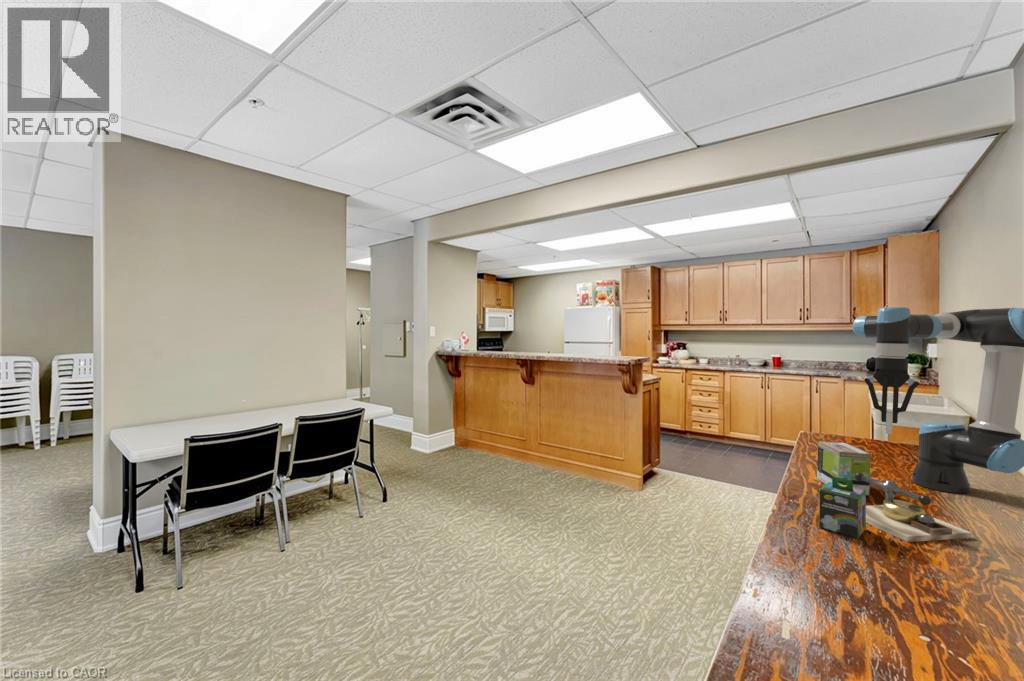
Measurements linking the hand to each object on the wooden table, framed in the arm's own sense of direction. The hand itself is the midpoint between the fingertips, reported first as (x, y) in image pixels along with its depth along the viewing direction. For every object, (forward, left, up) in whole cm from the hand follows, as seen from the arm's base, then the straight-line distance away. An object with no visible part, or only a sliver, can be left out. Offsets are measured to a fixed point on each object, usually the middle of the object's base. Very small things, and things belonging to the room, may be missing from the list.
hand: (888, 432), depth 132 cm
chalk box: (+24, +8, -25) cm, 36 cm away
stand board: (+4, +8, -25) cm, 26 cm away
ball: (+3, +14, -23) cm, 27 cm away
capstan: (+3, +3, -23) cm, 23 cm away
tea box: (-5, -21, -25) cm, 33 cm away
